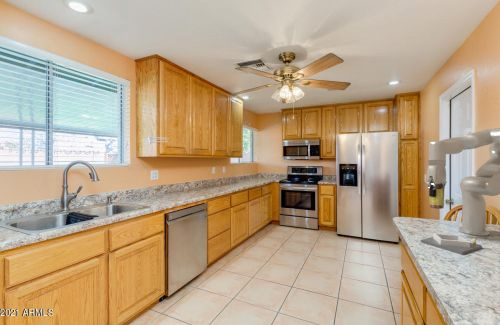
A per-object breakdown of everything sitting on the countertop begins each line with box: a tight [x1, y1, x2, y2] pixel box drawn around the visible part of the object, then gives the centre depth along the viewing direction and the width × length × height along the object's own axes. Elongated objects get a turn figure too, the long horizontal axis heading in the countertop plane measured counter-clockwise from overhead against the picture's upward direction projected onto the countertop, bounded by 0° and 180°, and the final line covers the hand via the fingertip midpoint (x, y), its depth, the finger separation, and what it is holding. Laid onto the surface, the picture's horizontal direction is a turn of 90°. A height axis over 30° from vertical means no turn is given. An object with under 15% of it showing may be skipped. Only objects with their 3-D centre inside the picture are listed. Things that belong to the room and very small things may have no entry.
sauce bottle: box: [428, 183, 445, 210], centre depth 129 cm, size 7×6×20 cm
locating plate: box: [420, 232, 483, 255], centre depth 115 cm, size 17×17×4 cm
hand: (436, 195), depth 129 cm, fingers closed on sauce bottle, 6 cm apart
